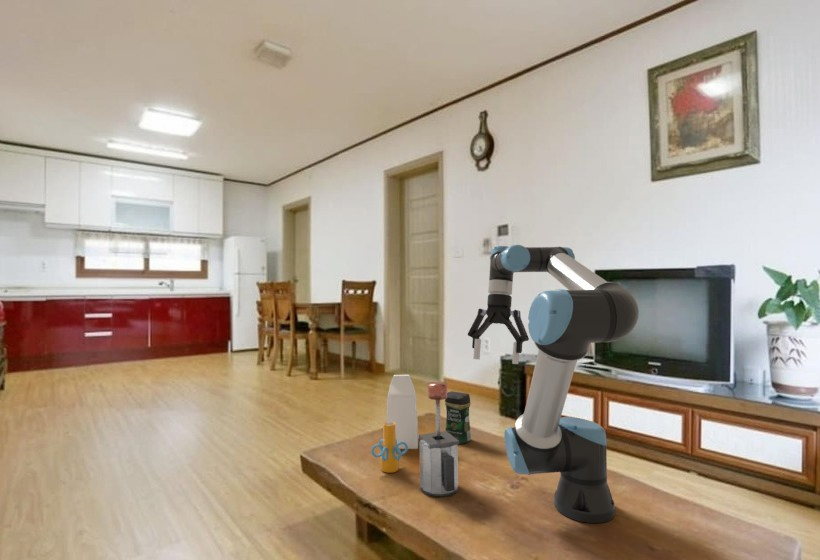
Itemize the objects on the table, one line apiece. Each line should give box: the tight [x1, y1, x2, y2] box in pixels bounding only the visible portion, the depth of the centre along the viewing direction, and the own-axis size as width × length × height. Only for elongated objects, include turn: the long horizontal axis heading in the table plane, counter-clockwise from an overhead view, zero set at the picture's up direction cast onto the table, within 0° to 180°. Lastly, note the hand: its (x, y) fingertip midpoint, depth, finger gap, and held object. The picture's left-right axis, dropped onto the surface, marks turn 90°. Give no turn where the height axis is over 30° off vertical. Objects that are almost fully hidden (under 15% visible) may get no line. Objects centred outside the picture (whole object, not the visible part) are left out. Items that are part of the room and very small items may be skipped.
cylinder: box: [370, 421, 409, 474], centre depth 143 cm, size 12×10×15 cm
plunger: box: [427, 381, 448, 440], centre depth 129 cm, size 6×6×22 cm
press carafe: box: [418, 430, 460, 499], centre depth 127 cm, size 14×11×15 cm
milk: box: [385, 374, 419, 450], centre depth 166 cm, size 12×12×26 cm
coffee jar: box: [444, 390, 472, 445], centre depth 168 cm, size 10×8×19 cm
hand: (495, 361), depth 136 cm, fingers open, 13 cm apart
